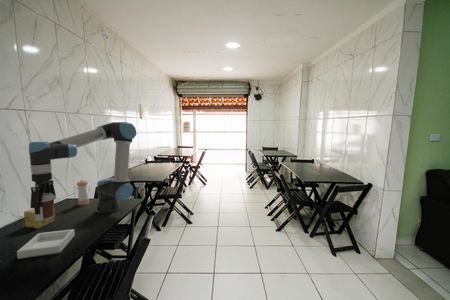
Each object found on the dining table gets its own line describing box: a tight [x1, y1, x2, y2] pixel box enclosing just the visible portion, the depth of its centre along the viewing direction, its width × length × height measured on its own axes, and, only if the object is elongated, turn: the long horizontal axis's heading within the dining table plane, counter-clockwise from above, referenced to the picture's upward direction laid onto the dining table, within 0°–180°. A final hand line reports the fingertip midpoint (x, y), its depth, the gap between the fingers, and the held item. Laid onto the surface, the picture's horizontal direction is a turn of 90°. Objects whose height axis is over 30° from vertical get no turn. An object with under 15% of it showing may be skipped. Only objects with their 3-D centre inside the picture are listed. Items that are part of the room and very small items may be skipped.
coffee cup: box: [41, 193, 57, 220], centre depth 102 cm, size 9×9×12 cm
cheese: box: [23, 208, 56, 229], centre depth 126 cm, size 10×11×10 cm
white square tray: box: [16, 228, 76, 260], centre depth 103 cm, size 17×17×4 cm
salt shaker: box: [76, 179, 90, 206], centre depth 158 cm, size 7×7×19 cm
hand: (45, 215), depth 102 cm, fingers closed on coffee cup, 9 cm apart
